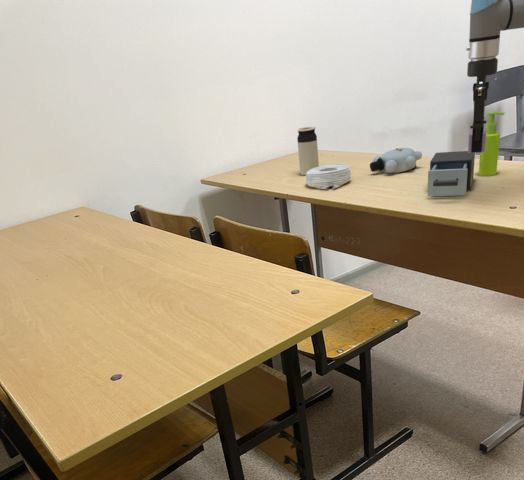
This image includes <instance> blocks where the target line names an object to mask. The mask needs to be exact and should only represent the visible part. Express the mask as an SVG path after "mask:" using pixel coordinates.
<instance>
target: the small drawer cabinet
mask: <svg viewBox="0 0 524 480" xmlns="http://www.w3.org/2000/svg"><path fill="white" fill-rule="evenodd" d="M475 158H476V153H468V150H462V151H461V150H460V151H441V152H435V153H434V155H433V157H432V159H431V160H430V162H429V170H432V168H433V167H434V165H435V164H446V163H466V162H468V175H467V188H466V192H467V191H471V188H472V185H473V182H474V175H475V174H474V173H475V160H476V159H475Z"/></svg>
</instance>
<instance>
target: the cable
mask: <svg viewBox="0 0 524 480" xmlns="http://www.w3.org/2000/svg"><path fill="white" fill-rule="evenodd" d="M351 178H352V172H351V168H350V166H348V165H346V164H326V165H324V164H323V165H320V166H319V167H315V168H313V169H310V170H309V171H307V174H306V175H305V180H304V182H305V184H306V185H307V186H308V187H312V188H316V189H320V190H325V191H327V190H328V189H329V188H331V187H332V189H333V190H335V189H338V188H339V187H341V186H344V184H346V183H348V182H349V181H350V180H351Z"/></svg>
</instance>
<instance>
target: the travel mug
mask: <svg viewBox="0 0 524 480" xmlns="http://www.w3.org/2000/svg"><path fill="white" fill-rule="evenodd" d="M296 130H297V133H298V135H297V138H296V139H297V150H298V160H299V161H298V162H299V173H300V175H301V176H306V174H307V171H309V170H310V169H313V168H315V167H319V165H320V164H319V149H318V148H319V147H318V136H317V133H316V127H315V126H305V127H299V128H297V129H296Z"/></svg>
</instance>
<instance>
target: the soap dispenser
mask: <svg viewBox="0 0 524 480" xmlns="http://www.w3.org/2000/svg"><path fill="white" fill-rule="evenodd" d="M505 114H506V112H504V111H492V112H487V114H486V116H487V117H488V122H486V124H485V131H486V143H485V152H481V153H479V159H478V160H479V163H478V175H479V176H482V177H488V176H489V177H491V176H495V175H497V172H498V162H499V151H500V139H501V138H500V137H501V133H499V132H497V126H498V123H497V122H496V121H495V119H496V115H499V116H500V115H501V116H505Z"/></svg>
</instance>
